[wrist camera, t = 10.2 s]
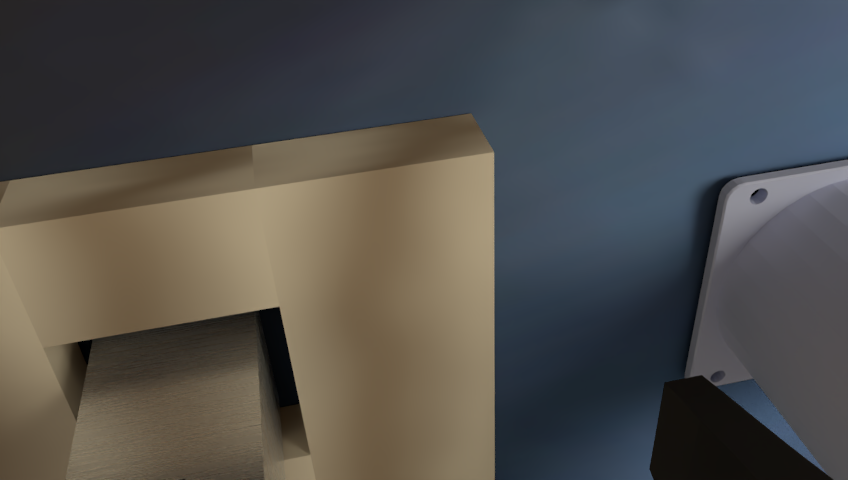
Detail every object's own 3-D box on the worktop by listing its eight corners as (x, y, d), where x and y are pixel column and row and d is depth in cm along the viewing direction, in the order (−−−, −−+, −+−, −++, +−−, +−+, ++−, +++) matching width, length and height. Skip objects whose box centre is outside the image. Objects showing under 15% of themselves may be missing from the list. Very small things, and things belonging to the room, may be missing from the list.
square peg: (253, 288, 21) (265, 508, 15) (278, 394, 23) (297, 619, 18) (97, 315, 20) (50, 554, 15) (138, 421, 23) (112, 662, 17)
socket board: (471, 113, 19) (493, 152, 18) (477, 441, 26) (494, 490, 25) (-248, 217, 17) (-297, 273, 15) (-32, 545, 24) (-51, 606, 22)
